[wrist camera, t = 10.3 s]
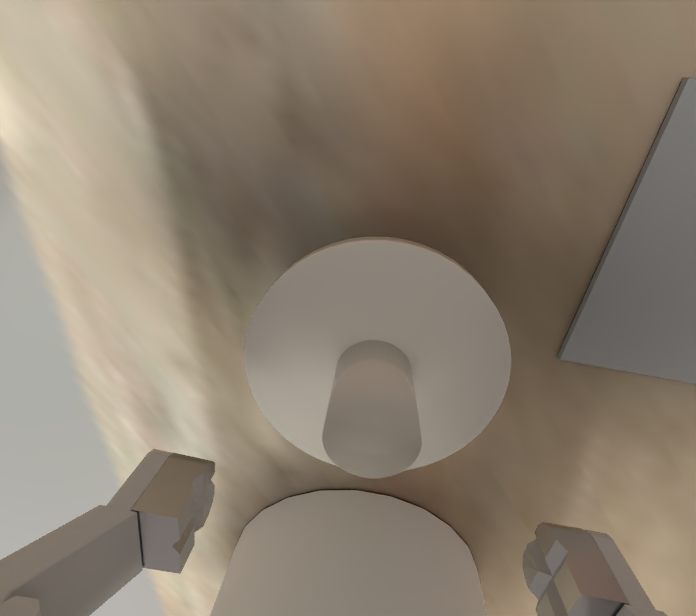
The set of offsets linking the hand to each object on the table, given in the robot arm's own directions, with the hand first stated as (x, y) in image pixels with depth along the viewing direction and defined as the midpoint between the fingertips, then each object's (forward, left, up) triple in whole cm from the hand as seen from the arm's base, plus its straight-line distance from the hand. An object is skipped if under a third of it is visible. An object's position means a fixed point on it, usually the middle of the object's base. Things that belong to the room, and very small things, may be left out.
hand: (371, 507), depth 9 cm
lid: (0, -1, -5) cm, 5 cm away
